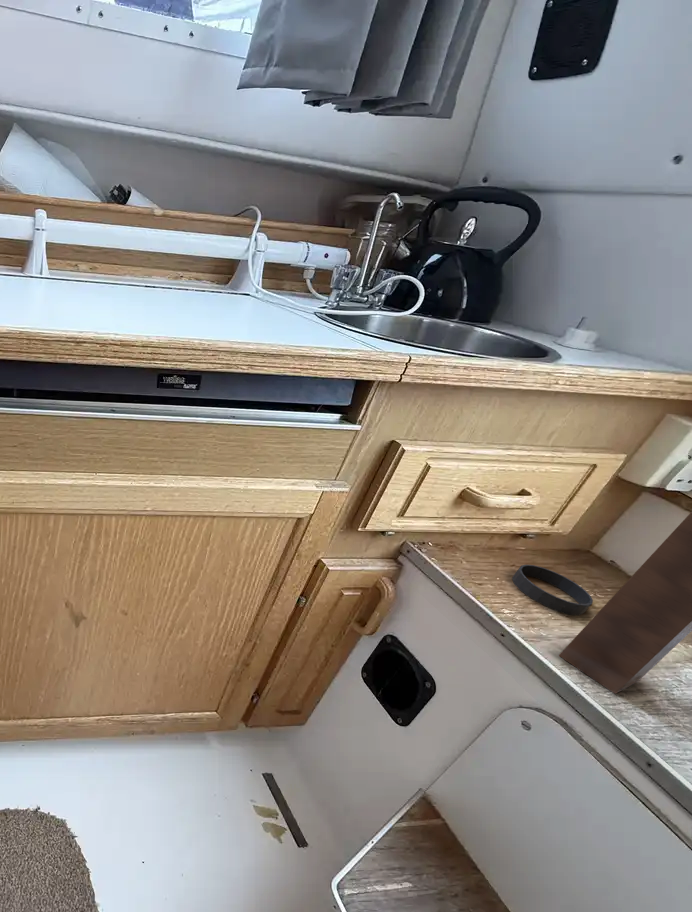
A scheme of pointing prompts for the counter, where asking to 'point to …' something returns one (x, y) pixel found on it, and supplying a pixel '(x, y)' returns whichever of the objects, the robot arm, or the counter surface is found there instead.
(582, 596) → the ring
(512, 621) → the counter surface
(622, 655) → the stand
